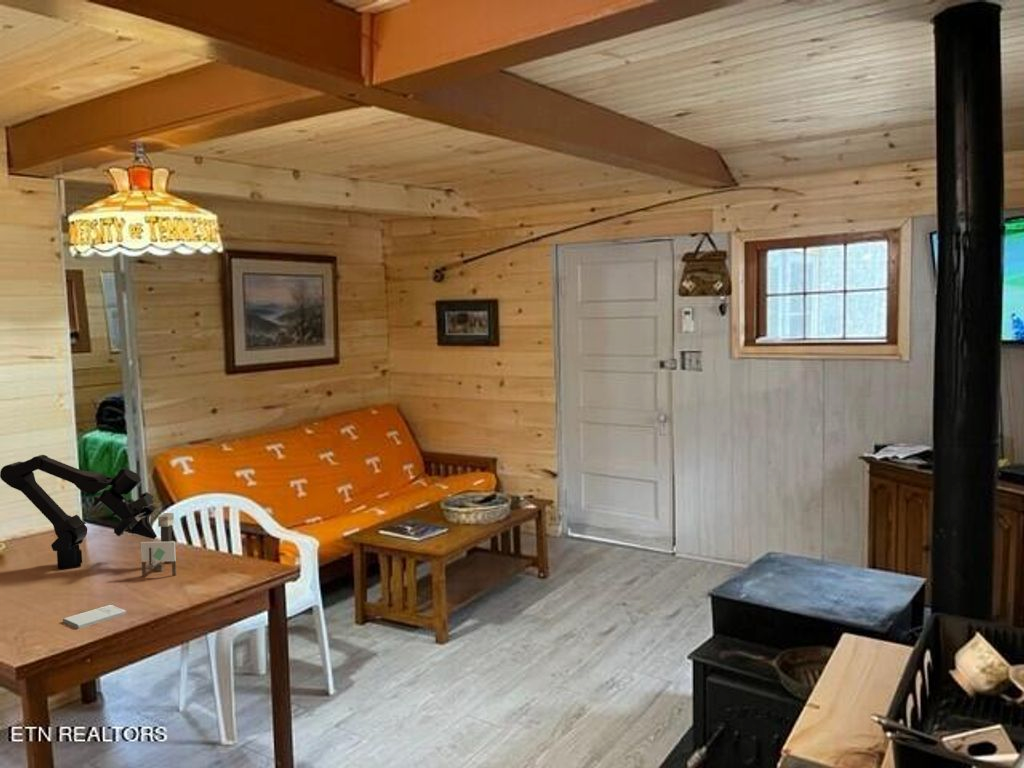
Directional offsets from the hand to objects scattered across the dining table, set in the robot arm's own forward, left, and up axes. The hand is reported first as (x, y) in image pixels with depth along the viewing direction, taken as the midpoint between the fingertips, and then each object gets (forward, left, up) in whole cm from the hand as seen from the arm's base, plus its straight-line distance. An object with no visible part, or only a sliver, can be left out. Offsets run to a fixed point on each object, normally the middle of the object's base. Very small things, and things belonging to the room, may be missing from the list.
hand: (155, 537), depth 252 cm
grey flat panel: (-1, -12, -4) cm, 13 cm away
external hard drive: (-20, -40, -10) cm, 46 cm away
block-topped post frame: (0, -6, -7) cm, 9 cm away
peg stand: (+3, -6, -9) cm, 11 cm away
